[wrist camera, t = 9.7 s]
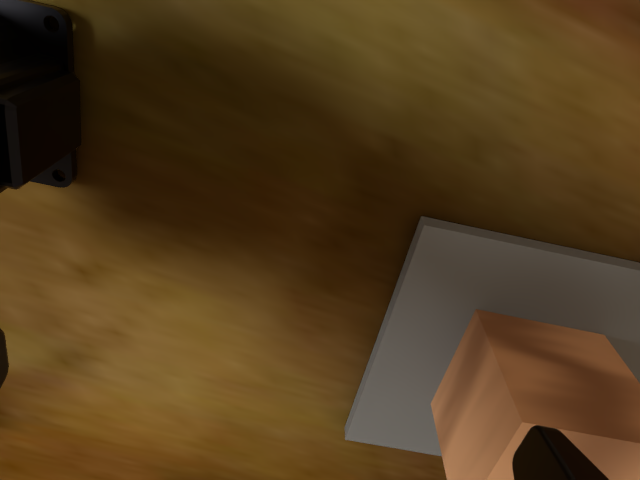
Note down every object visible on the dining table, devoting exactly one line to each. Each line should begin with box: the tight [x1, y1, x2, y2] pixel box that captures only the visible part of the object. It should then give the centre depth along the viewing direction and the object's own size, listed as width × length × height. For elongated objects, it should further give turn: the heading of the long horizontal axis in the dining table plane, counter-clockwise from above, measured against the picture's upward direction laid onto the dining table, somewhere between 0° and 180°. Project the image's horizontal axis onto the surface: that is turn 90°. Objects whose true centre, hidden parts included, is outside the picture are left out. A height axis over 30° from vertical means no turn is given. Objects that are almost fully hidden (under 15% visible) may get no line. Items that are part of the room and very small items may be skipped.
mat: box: [345, 216, 640, 456], centre depth 23 cm, size 13×13×1 cm
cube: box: [431, 309, 640, 480], centre depth 20 cm, size 6×6×6 cm
